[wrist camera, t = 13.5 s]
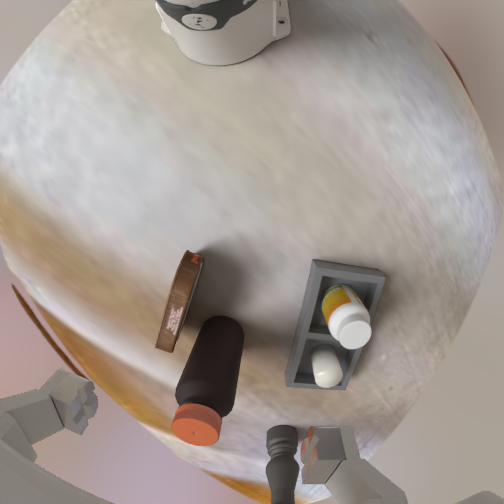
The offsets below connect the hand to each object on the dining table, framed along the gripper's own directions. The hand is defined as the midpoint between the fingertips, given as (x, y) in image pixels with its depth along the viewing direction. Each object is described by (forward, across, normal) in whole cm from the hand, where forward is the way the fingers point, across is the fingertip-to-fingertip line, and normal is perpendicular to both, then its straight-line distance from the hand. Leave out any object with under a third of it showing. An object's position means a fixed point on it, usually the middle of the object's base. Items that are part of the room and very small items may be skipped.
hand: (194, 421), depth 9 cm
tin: (+31, +8, +10) cm, 34 cm away
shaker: (+30, -14, +17) cm, 37 cm away
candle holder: (+31, -12, +39) cm, 51 cm away
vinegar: (+31, +2, +16) cm, 35 cm away
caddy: (+31, -14, +12) cm, 36 cm away
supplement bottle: (+30, -14, +7) cm, 34 cm away
